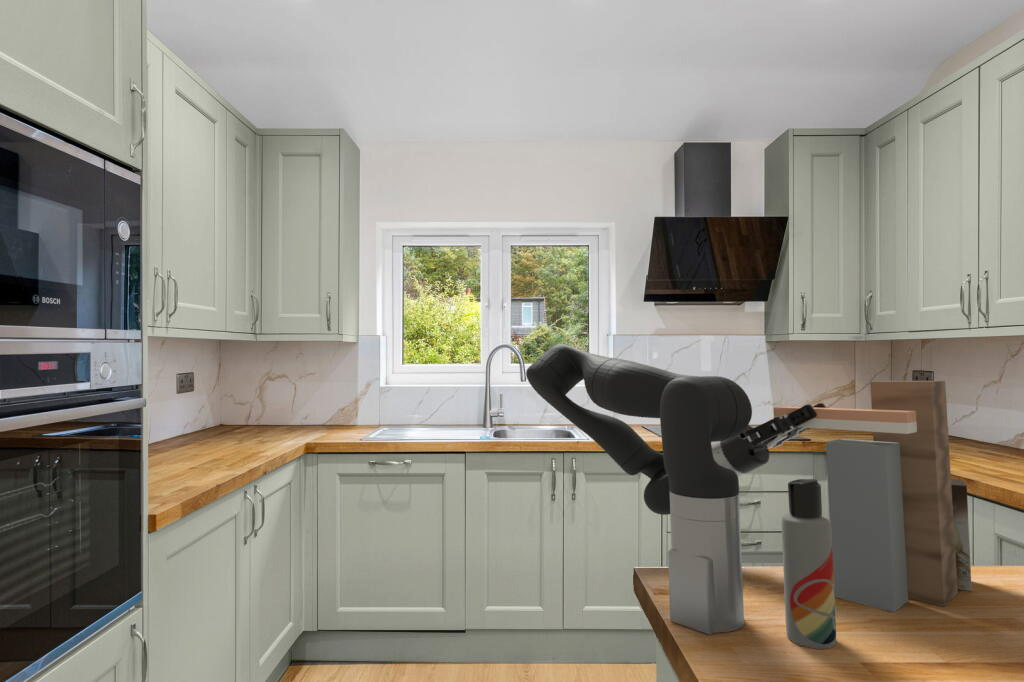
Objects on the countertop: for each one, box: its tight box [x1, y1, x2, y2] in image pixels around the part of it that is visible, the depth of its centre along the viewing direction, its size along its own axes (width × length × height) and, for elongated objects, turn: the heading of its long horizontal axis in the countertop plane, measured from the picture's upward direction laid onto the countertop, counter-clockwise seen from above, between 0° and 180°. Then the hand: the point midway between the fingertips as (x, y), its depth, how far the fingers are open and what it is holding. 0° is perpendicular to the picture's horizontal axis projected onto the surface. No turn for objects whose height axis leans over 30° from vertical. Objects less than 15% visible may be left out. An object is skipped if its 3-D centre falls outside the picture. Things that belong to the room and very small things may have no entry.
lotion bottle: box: [781, 478, 837, 650], centre depth 75 cm, size 6×6×20 cm
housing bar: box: [772, 405, 917, 434], centre depth 91 cm, size 4×19×3 cm, turn 40°
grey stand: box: [825, 438, 909, 613], centre depth 88 cm, size 6×8×23 cm
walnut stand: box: [869, 380, 959, 607], centre depth 90 cm, size 7×8×32 cm
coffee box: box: [951, 478, 973, 592], centre depth 95 cm, size 9×6×16 cm
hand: (819, 409), depth 93 cm, fingers closed on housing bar, 4 cm apart
